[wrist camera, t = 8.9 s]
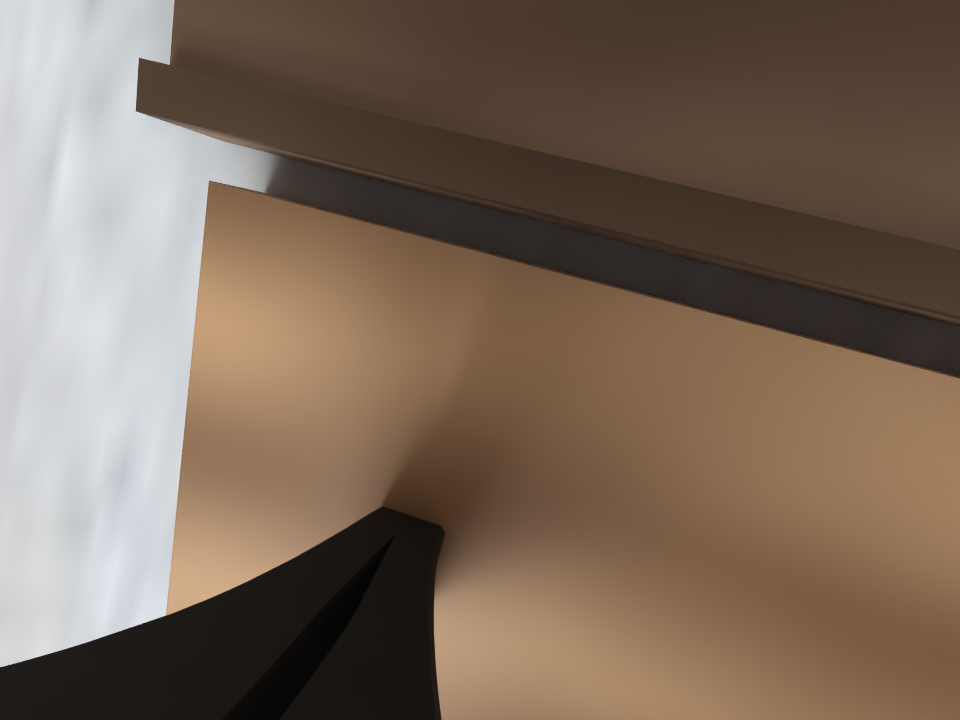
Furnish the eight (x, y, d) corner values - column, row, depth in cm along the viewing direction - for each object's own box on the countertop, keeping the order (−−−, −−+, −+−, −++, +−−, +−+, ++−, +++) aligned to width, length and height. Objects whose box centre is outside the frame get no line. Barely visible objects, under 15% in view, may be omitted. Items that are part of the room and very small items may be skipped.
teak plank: (1390, 1030, 9) (1542, 1174, 8) (211, 586, 12) (164, 629, 11) (1891, 620, 7) (2252, 719, 5) (262, 192, 10) (209, 181, 8)
